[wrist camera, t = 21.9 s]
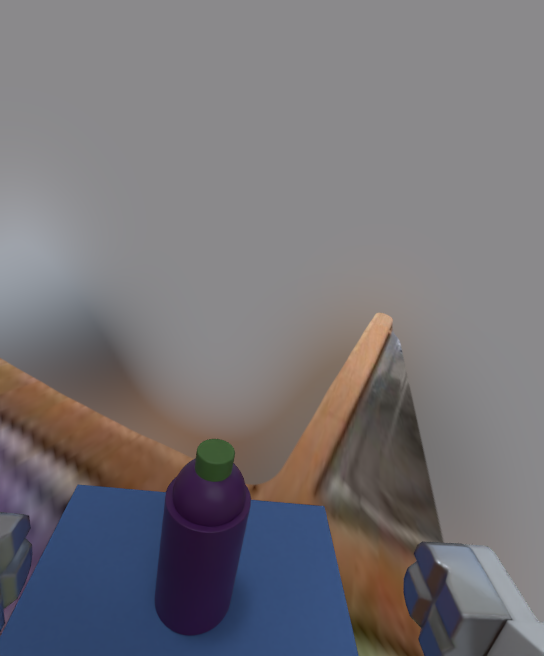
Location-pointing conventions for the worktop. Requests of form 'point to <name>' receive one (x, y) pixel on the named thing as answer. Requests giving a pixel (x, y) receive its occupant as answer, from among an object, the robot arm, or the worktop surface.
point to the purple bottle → (201, 540)
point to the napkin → (140, 583)
